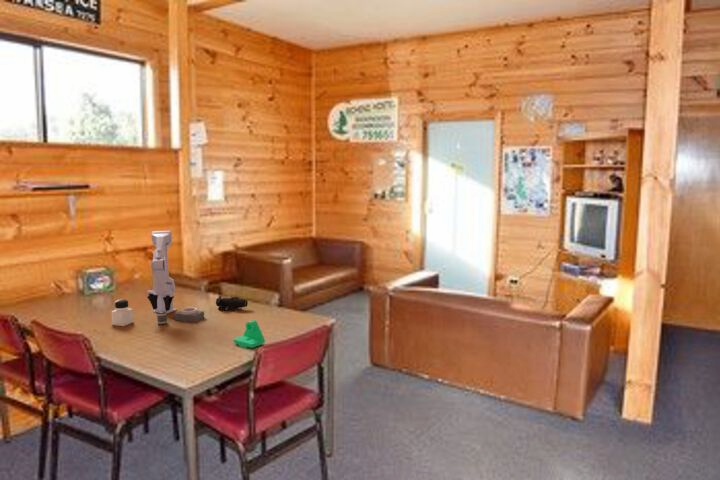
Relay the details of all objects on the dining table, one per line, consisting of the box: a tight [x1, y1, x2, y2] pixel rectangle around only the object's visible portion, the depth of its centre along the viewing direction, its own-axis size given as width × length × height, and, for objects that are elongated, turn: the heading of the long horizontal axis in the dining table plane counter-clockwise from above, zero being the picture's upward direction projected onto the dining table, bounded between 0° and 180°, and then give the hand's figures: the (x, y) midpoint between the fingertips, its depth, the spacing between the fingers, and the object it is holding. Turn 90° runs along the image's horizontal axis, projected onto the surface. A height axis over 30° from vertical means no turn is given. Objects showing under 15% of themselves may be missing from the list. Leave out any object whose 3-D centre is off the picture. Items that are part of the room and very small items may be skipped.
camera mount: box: [233, 319, 266, 349], centre depth 228 cm, size 12×8×10 cm, turn 56°
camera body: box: [174, 306, 205, 323], centre depth 266 cm, size 12×8×5 cm, turn 71°
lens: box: [156, 311, 168, 326], centre depth 258 cm, size 4×4×6 cm
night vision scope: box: [215, 295, 249, 312], centre depth 282 cm, size 8×18×10 cm
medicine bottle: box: [111, 299, 134, 327], centre depth 258 cm, size 7×7×12 cm
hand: (161, 309), depth 257 cm, fingers open, 7 cm apart
